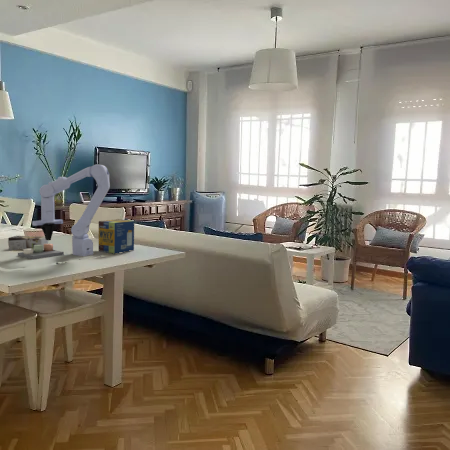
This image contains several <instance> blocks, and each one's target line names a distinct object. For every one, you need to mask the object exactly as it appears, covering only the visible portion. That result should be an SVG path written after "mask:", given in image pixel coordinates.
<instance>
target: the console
mask: <svg viewBox="0 0 450 450" xmlns="http://www.w3.org/2000/svg"><path fill="white" fill-rule="evenodd" d="M64 255H65V252H64V251H62V250H61V251H60V250H55V249H53V251H44V249H43V252H41V253H35V252H34V250H33V254H23V251H19V252H17V256H18V257H20V258H21V257H22V258H26V259H29V260H37V259H44V258H53V257H58V256H64Z"/></svg>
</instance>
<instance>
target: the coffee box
mask: <svg viewBox="0 0 450 450" xmlns="http://www.w3.org/2000/svg"><path fill="white" fill-rule="evenodd" d="M7 239H8V241H7V243H8V251H15V250H16V251H17V250H23V249H33V250H34V245H43V250H44V244H49V240H46V239H45V236H40V235H39V236H38V235H37V236H36V235H35V236H34V235H14V236H10V237H8V238H7Z"/></svg>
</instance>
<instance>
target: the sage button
mask: <svg viewBox="0 0 450 450" xmlns="http://www.w3.org/2000/svg"><path fill="white" fill-rule="evenodd" d="M43 250H44V249H43V245H34V249H33V251H34V252H35V253H41V252H43Z"/></svg>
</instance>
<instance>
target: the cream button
mask: <svg viewBox="0 0 450 450" xmlns="http://www.w3.org/2000/svg"><path fill="white" fill-rule="evenodd" d="M33 251H34V249H22V252H23V254H33Z"/></svg>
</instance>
